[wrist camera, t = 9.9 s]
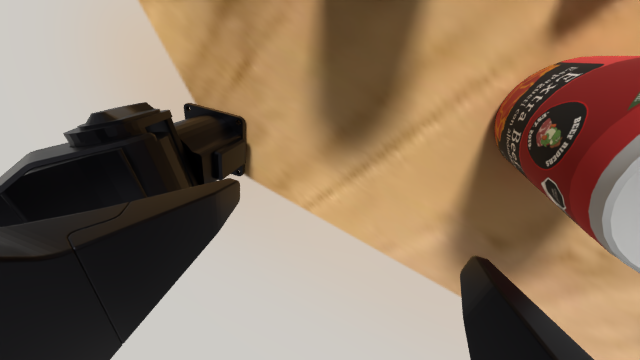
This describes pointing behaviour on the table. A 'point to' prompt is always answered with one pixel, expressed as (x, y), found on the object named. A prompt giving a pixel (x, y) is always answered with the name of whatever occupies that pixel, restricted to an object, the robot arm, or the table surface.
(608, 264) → the table surface
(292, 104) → the table surface
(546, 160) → the canned food
